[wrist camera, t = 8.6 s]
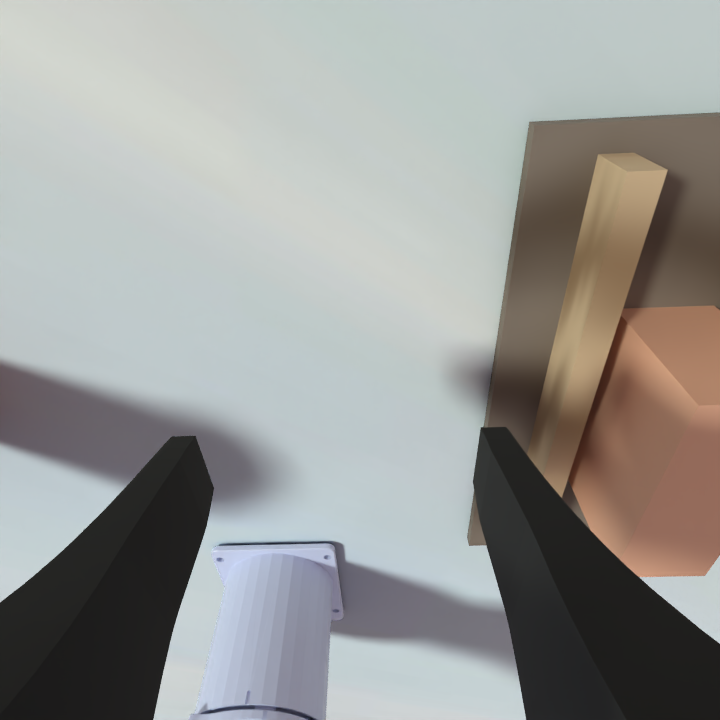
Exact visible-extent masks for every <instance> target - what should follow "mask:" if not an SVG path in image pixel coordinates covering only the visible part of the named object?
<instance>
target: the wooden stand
mask: <svg viewBox="0 0 720 720" xmlns="http://www.w3.org/2000/svg"><path fill="white" fill-rule="evenodd" d="M686 306H715V307H716V308H718V309H719V310H720V113H701V114H681V115H660V116H640V117H620V118H600V119H580V120H560V121H539V122H529V129H528V135H527V142H526V149H525V155H524V162H523V169H522V175H521V182H520V189H519V195H518V202H517V209H516V215H515V222H514V229H513V235H512V242H511V249H510V256H509V262H508V269H507V276H506V282H505V289H504V296H503V302H502V309H501V316H500V322H499V329H498V336H497V342H496V349H495V356H494V362H493V369H492V376H491V382H490V389H489V396H488V403H487V409H486V416H485V423H484V427H506V428H508V429H509V430H510V432H511V433H512V435H513V436H514V437H515V439H516V440H517V442H518V443H519V444H520V446H521V447H522V449H523V450H524V451H525V453H526V454H527V455H528V457H529V458H530V459H531V461H532V462H533V463H534V465H535V466H536V467H537V468H538V470H539V471H540V472H541V474H542V475H543V476H544V477H545V479H546V480H547V481H548V482H549V483H550V485H551V486H552V487H553V488H554V489H555V491H556V492H557V493H558V494H559V495H560V497H561V498H562V499H563V500H564V501H565V503H566V504H567V505H568V506H569V507H570V508H571V509H572V511H573V512H574V513H575V514H576V515H577V516H578V517H579V518H580V519H581V520H582V522H583V523H584V524H585V525H586V526H587V527H588V528H589V526H588V523H587V521H586V519H585V517H584V514H583V512H582V510H581V507H580V505H579V503H578V501H577V498H576V496H575V494H574V492H573V489H572V487H571V485H570V483H569V480H568V477H569V474H570V471H571V468H572V465H573V462H574V459H575V455H576V452H577V449H578V446H579V443H580V440H581V437H582V434H583V431H584V428H585V425H586V421H587V418H588V415H589V412H590V409H591V406H592V403H593V400H594V397H595V394H596V391H597V387H598V384H599V381H600V378H601V375H602V372H603V369H604V366H605V363H606V360H607V357H608V353H609V350H610V347H611V344H612V341H613V338H614V335H615V332H616V329H617V326H618V323H619V319H620V316H621V313H622V310H623V309H626V308H656V307H686ZM589 529H590V528H589ZM467 538H468V543H469V546H473V545H486V542H485V538H484V534H483V531H482V527H481V524H480V520H479V514H478V509H477V503H476V497H475V490H474V496H473V503H472V509H471V516H470V523H469V529H468V536H467Z"/></svg>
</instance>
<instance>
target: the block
mask: <svg viewBox="0 0 720 720" xmlns="http://www.w3.org/2000/svg"><path fill="white" fill-rule="evenodd" d="M568 480H569V483H570V485H571V487H572V489H573V492H574V494H575V496H576V498H577V501H578V503H579V505H580V507H581V510H582V512H583V514H584V517H585V519H586V521H587V523H588V526H589V528H590V530H591V531H592V532H593V533H594V534H595V535H596V536H597V537H598V539H599V540H600V541H601V542H602V543H603V544H604V545H605V546H606V547H607V548H608V549H609V550H610V551H611V552H612V553H613V554H615V555H616V556H617V557H618V558H619V559H620V560H621V561H622V562H623V563H624V564H625V565H626V566H627V567H628V568H629V569H630V570H631V571H633V572H634V573H635V574H636V575H637V576H638V577H663V576H705V575H706V573H707V572H708V571H709V569H710V568H711V567H712V565H713V564H714V562H715V561H716V560H717V558H718V557H719V555H720V310H719V309H718V308H716V307H715V306H686V307H656V308H626V309H623V310H622V313H621V316H620V319H619V323H618V326H617V329H616V332H615V335H614V338H613V341H612V344H611V347H610V350H609V353H608V357H607V360H606V363H605V366H604V369H603V372H602V375H601V378H600V381H599V384H598V387H597V391H596V394H595V397H594V400H593V403H592V406H591V409H590V412H589V415H588V418H587V421H586V425H585V428H584V431H583V434H582V437H581V440H580V443H579V446H578V449H577V452H576V455H575V459H574V462H573V465H572V468H571V471H570V474H569V477H568Z"/></svg>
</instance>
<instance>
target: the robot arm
mask: <svg viewBox="0 0 720 720" xmlns="http://www.w3.org/2000/svg"><path fill="white" fill-rule="evenodd" d="M473 484H474V490H475V497H476V503H477V509H478V514H479V520H480V524H481V527H482V531H483V534H484V538H485V542H486V545H487V549H488V552H489V556H490V559H491V562H492V566H493V569H494V573H495V576H496V580H497V583H498V587H499V590H500V594H501V597H502V601H503V604H504V608H505V612H506V616H507V620H508V624H509V628H510V633H511V638H512V644H513V649H514V654H515V659H516V664H517V670H518V675H519V681H520V686H521V692H522V698H523V703H524V709H525V714H526V720H720V644H719V643H718V642H717V641H715V640H714V639H713V638H711V637H710V636H709V635H707V634H706V633H705V632H703V631H702V630H701V629H700V628H698V627H697V626H696V625H695V624H694V623H692V622H691V621H690V620H689V619H688V618H686V617H685V616H684V615H683V614H681V613H680V612H679V611H678V610H677V609H675V608H674V607H673V606H672V605H671V604H669V603H668V602H667V601H666V600H664V599H663V598H662V597H661V596H660V595H658V594H657V593H656V592H655V591H654V590H652V589H651V588H650V587H649V586H648V585H647V584H646V583H645V582H644V581H642V580H641V579H640V578H639V577H638V576H637V575H636V574H635V573H634V572H633V571H631V570H630V569H629V568H628V567H627V566H626V565H625V564H624V563H623V562H622V561H621V560H620V559H619V558H618V557H617V556H616V555H615V554H613V553H612V552H611V551H610V550H609V549H608V548H607V547H606V546H605V545H604V544H603V543H602V542H601V541H600V540H599V539H598V537H597V536H596V535H595V534H594V533H593V532H592V531H591V530H590V529H589V528H588V527H587V526H586V525H585V524H584V523H583V522H582V520H581V519H580V518H579V517H578V516H577V515H576V514H575V513H574V512H573V511H572V509H571V508H570V507H569V506H568V505H567V504H566V503H565V501H564V500H563V499H562V498H561V497H560V495H559V494H558V493H557V492H556V491H555V489H554V488H553V487H552V486H551V485H550V483H549V482H548V481H547V480H546V479H545V477H544V476H543V475H542V474H541V472H540V471H539V470H538V468H537V467H536V466H535V465H534V463H533V462H532V461H531V459H530V458H529V457H528V455H527V454H526V453H525V451H524V450H523V449H522V447H521V446H520V444H519V443H518V442H517V440H516V439H515V437H514V436H513V435H512V433H511V432H510V430H509V429H508V428H506V427H481V430H480V437H479V444H478V451H477V458H476V465H475V472H474V479H473ZM213 490H214V487H213V484H212V482H211V479H210V476H209V473H208V470H207V468H206V465H205V462H204V459H203V456H202V453H201V451H200V448H199V445H198V442H197V439H196V436H177V437H171V438H170V439H169V440H168V441H167V442H166V443H165V444H164V446H163V447H162V448H161V449H160V450H159V451H158V452H157V453H156V454H155V455H154V457H153V458H152V459H151V460H150V461H149V462H148V463H147V464H146V466H145V467H144V468H143V469H142V470H141V471H140V472H139V473H138V474H137V476H136V477H135V478H134V479H133V480H132V481H131V482H130V483H129V484H128V485H127V486H126V488H125V489H124V490H123V491H122V492H121V493H120V494H119V495H118V496H117V497H116V498H115V499H114V500H113V501H112V502H111V504H110V505H109V506H108V507H107V508H106V509H105V510H104V511H103V512H102V513H101V514H100V515H99V516H98V517H97V518H96V519H95V520H94V521H93V522H92V523H91V524H90V525H89V526H88V527H87V528H86V529H85V530H84V531H83V532H82V533H81V534H80V535H79V536H78V537H77V538H76V539H75V540H74V541H73V542H71V543H70V544H69V545H68V546H67V547H66V548H65V549H64V550H63V551H62V552H61V553H60V554H58V555H57V556H56V557H55V558H54V559H53V560H52V561H51V562H49V563H48V564H47V565H46V566H45V567H44V568H42V569H41V570H40V571H39V572H38V573H37V574H35V575H34V576H33V577H32V578H31V579H30V580H28V581H27V582H26V583H25V584H23V585H22V586H21V587H20V588H18V589H17V590H16V591H14V592H13V593H12V594H11V595H9V596H8V597H7V598H6V599H4V600H3V601H2V602H0V720H153V718H154V713H155V708H156V703H157V699H158V694H159V689H160V684H161V679H162V675H163V670H164V666H165V662H166V657H167V653H168V649H169V644H170V640H171V636H172V632H173V628H174V625H175V621H176V618H177V614H178V611H179V608H180V605H181V602H182V599H183V596H184V593H185V590H186V587H187V584H188V581H189V578H190V575H191V572H192V569H193V566H194V563H195V560H196V557H197V554H198V551H199V548H200V545H201V542H202V539H203V536H204V533H205V529H206V526H207V521H208V517H209V512H210V507H211V501H212V496H213ZM211 556H212V558H213V561H214V563H215V566H216V568H217V570H218V573H219V575H220V578H221V580H222V583H223V585H224V587H225V589H224V593H223V597H222V601H221V606H220V610H219V614H218V618H217V622H216V626H215V630H214V635H213V639H212V643H211V647H210V651H209V655H208V660H207V664H206V668H205V672H204V676H203V680H202V684H201V689H200V693H199V697H198V701H197V705H196V709H195V713H194V714H190V716H189V720H326V705H327V686H328V667H329V648H330V630H331V621H337V620H342V619H343V617H344V611H343V604H342V597H341V589H340V582H339V574H338V567H337V560H336V552H335V547H334V546H333V545H332V544H327V543H324V544H279V545H234V546H215V547H213V549H212V552H211Z"/></svg>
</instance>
